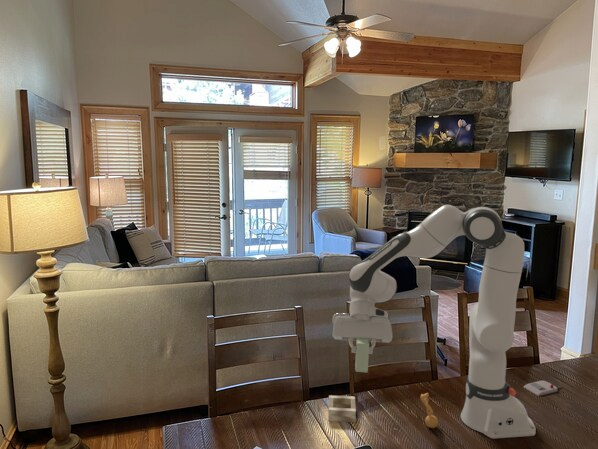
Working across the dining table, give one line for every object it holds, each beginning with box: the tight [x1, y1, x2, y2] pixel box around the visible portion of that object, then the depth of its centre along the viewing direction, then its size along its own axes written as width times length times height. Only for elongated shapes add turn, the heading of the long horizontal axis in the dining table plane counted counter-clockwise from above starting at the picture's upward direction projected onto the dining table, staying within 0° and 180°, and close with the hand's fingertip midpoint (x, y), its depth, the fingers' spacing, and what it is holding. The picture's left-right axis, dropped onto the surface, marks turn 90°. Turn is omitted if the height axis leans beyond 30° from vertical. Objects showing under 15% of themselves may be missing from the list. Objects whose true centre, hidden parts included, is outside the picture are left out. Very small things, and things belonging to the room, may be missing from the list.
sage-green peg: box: [354, 338, 370, 373], centre depth 147 cm, size 4×4×10 cm
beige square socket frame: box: [327, 394, 357, 423], centre depth 150 cm, size 9×9×4 cm
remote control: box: [523, 379, 563, 397], centre depth 167 cm, size 7×16×3 cm, turn 110°
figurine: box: [419, 392, 439, 429], centre depth 142 cm, size 8×6×12 cm
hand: (362, 352), depth 147 cm, fingers closed on sage-green peg, 4 cm apart
